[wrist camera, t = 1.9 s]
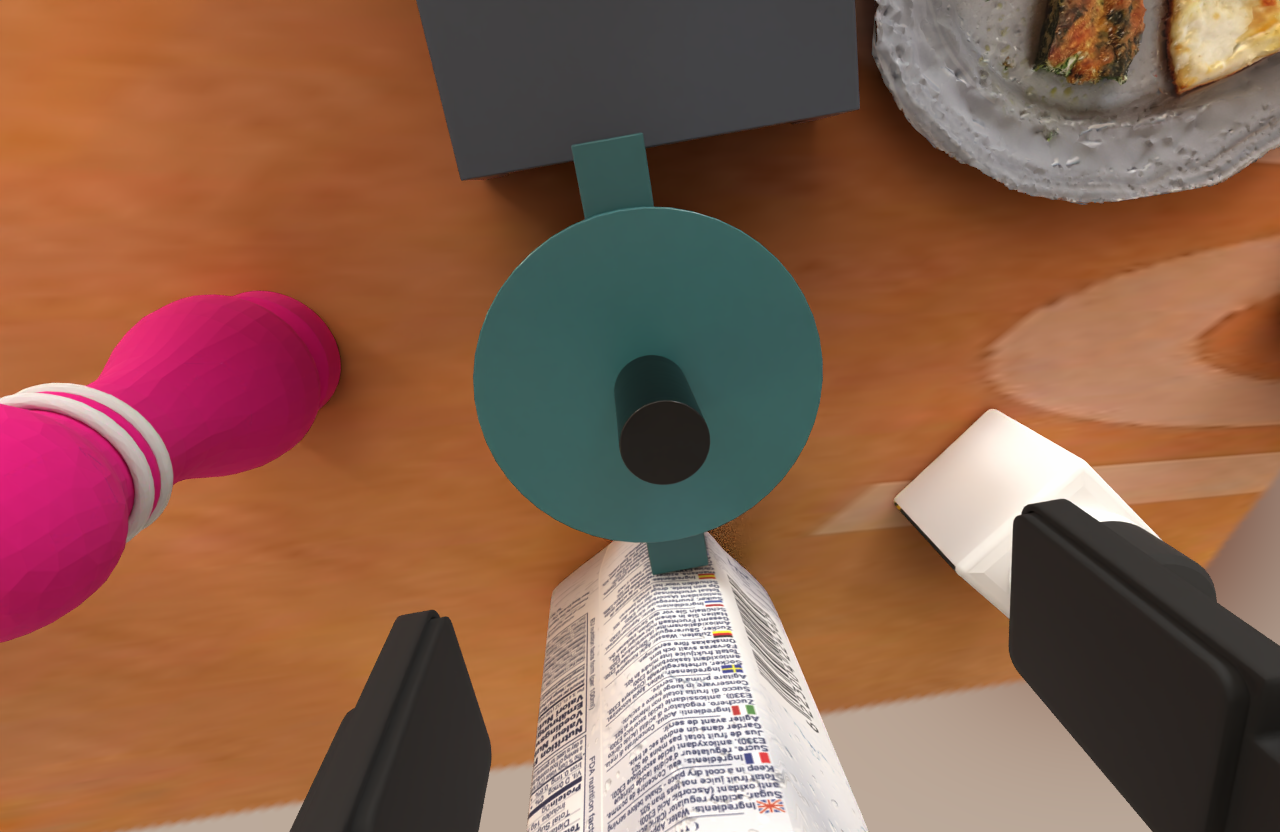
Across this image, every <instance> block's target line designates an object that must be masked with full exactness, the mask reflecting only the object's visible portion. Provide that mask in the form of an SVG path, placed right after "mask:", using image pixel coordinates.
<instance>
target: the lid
mask: <svg viewBox="0 0 1280 832" xmlns="http://www.w3.org/2000/svg"><path fill="white" fill-rule="evenodd" d="M822 381H823V363H822V352H821V345H820V338H819V334H818V331H817V327H816V324H815V320H814V317H813V314H812V312H811V310H810V307H809V305H808V303H807V301H806V298H805V296H804V294H803V293H802V291H801V290H800V288H799V286H798V285H797V283H796V282H795V280H794V278H793V277H792V275H791V274H790V273H789V272H788V271H787V270H786V268H785V267H784V266H783V265H782V264H781V262H780V261H779V260H778V259H777V258H776V257H775V256H774V255H773V254H772V253H770V252H769V251H768V250H767V249H766V248H765V247H764V246H763V245H761V244H760V243H759V242H758V241H756V240H755V239H753V238H752V237H750V236H749V235H747V234H746V233H744V232H743V231H741V230H739V229H737V228H735V227H733V226H731V225H729V224H727V223H725V222H723V221H721V220H719V219H716V218H713V217H709V216H706V215H703V214H700V213H697V212H694V211H688V210H682V209H677V208H671V207H645V206H644V207H635V208H626V209H618V210H614V211H610V212H606V213H602V214H598V215H595V216H592V217H590V218H587V219H585V220H582V221H580V222H577V223H575V224H573V225H571V226H569V227H567V228H566V229H564V230H562V231H560V232H559V233H557V234H555V235H553V236H552V237H550V238H549V239H548V240H546V241H545V242H544V243H542V244H541V245H540V246H539V247H537V248H536V249H535V250H533V251H532V252H531V253H530V254H529V255H528V256H527V257H526V258H525V259H524V260H523V261H522V262H521V263H520V264H519V265H518V266H517V267H516V268H515V270H514V271H513V272H512V273H511V275H510V276H509V278H508V279H507V280H506V282H505V283H504V284H503V286H502V287H501V288H500V290H499V292H498V293H497V295H496V297H495V299H494V301H493V303H492V304H491V306H490V308H489V310H488V312H487V315H486V318H485V320H484V323H483V326H482V328H481V331H480V335H479V339H478V343H477V348H476V352H475V361H474V373H473V383H474V400H475V405H476V410H477V415H478V420H479V423H480V426H481V429H482V432H483V435H484V438H485V440H486V443H487V445H488V447H489V449H490V451H491V453H492V455H493V457H494V459H495V461H496V462H497V463H498V465H499V466H500V468H501V469H502V471H503V472H504V474H505V475H506V477H507V478H508V479H509V480H510V481H511V483H512V484H513V485H514V486H515V487H516V488H517V489H518V490H519V491H520V493H521V494H522V495H523V496H525V497H526V498H527V499H528V500H529V501H530V502H532V503H533V504H534V505H535V506H536V507H537V508H539V509H540V510H542V511H543V512H545V513H546V514H548V515H549V516H551V517H552V518H554V519H555V520H557V521H559V522H561V523H563V524H565V525H567V526H569V527H571V528H573V529H576V530H579V531H581V532H584V533H587V534H590V535H593V536H596V537H601V538H605V539H610V540H614V541H623V542H632V543H656V542H665V541H673V540H679V539H683V538H687V537H691V536H695V535H699V534H701V533H704V532H707V531H709V530H712V529H715V528H717V527H719V526H721V525H723V524H725V523H727V522H729V521H731V520H733V519H735V518H737V517H738V516H740V515H741V514H743V513H744V512H746V511H747V510H749V509H751V508H752V507H753V506H755V505H756V504H757V503H758V502H759V501H761V500H762V499H763V498H764V497H765V496H767V495H768V494H769V493H770V492H771V491H772V490H773V489H774V488H775V487H776V485H777V484H778V483H779V482H780V481H781V480H782V479H783V478H784V477H785V475H786V474H787V473H788V471H789V470H790V468H791V467H792V466H793V464H794V463H795V462H796V460H797V458H798V456H799V455H800V453H801V451H802V449H803V448H804V446H805V444H806V442H807V440H808V437H809V435H810V432H811V430H812V427H813V425H814V422H815V418H816V415H817V411H818V407H819V403H820V397H821V389H822Z"/></svg>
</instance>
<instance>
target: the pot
mask: <svg viewBox="0 0 1280 832" xmlns="http://www.w3.org/2000/svg"><path fill="white" fill-rule="evenodd" d="M571 149H572V154H573V159H574V165H575V170H576V175H577V180H578V186H579V191H580V196H581V201H582V207H583V212H584V217H585V219H587V218H590V217H592V216H595V215H598V214H602V213H606V212H610V211H614V210H618V209H626V208H635V207H644V206H645V207H654V202H653V195H652V189H651V182H650V176H649V169H648V163H647V156H646V150H645V143H644V137H643V133H637V134H631V135H625V136H620V137H614V138H609V139H603V140H598V141H592V142H586V143H581V144H575V145H572V146H571ZM646 544H647V550H648V555H649V560H650V565H651V571H652V574H653V575H657V574H663V573H668V572H674V571H679V570H685V569H690V568H696V567H701V566H707V565H708V564H709V562H708V555H707V548H706V542H705V535H704V533H701V534H699V535H695V536H691V537H687V538H683V539H679V540H673V541H665V542H656V543H646Z"/></svg>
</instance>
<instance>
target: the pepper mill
mask: <svg viewBox="0 0 1280 832" xmlns="http://www.w3.org/2000/svg"><path fill="white" fill-rule="evenodd" d="M340 371H341V363H340V355H339V350H338V347H337V344H336V341H335V339H334V337H333V335H332V333H331V332H330V330H329V329H328V327H327V326H326V324H325V323H324V322H323V321H322V320H321V318H320V317H319V316H318V315H317V314H316V313H315V312H313V311H312V310H311V309H310V308H308V307H307V306H305V305H304V304H302V303H301V302H299V301H297V300H295V299H293V298H291V297H288V296H286V295H282V294H279V293H275V292H269V291H250V292H244V293H241V294H238V295H235V296H224V295H198V296H192V297H187V298H183V299H180V300H177V301H175V302H172V303H170V304H168V305H166V306H164V307H162V308H160V309H158V310H156V311H154V312H153V313H151V314H149V315H147V316H145V317H143V318H142V319H141V320H140V321H139V322H138V323H137V324H136V325H135V326H134V327H133V328H132V329H130V330H129V331H128V332H127V333H126V334H125V336H124V337H123V338H122V339H121V341H120V342H119V343H118V345H117V346H116V347H115V348H114V350H113V352H112V354H111V356H110V358H109V360H108V361H107V363H106V365H105V367H104V369H103V371H102V373H101V375H100V376H99V378H98V379H97V380H96V381H94V382H92V383H90V384H88V385H86V386H84V385H77V384H70V383H48V384H41V385H36V386H33V387H29V388H26V389H23V390H21V391H20V392H18V393H16V394H14V395H9V396H5V397H3V398H0V643H1V642H5V641H9V640H12V639H15V638H18V637H20V636H23V635H26V634H29V633H31V632H33V631H35V630H37V629H40V628H42V627H44V626H46V625H48V624H50V623H52V622H54V621H56V620H57V619H59V618H60V617H62V616H64V615H65V614H67V613H68V612H70V611H71V610H73V609H74V608H76V607H78V606H79V605H80V604H81V603H82V602H84V601H85V600H86V599H87V598H88V597H89V596H91V595H92V594H93V593H94V592H95V591H96V590H97V589H98V588H99V587H100V586H101V585H102V584H103V583H104V582H105V581H106V580H107V578H108V577H109V575H110V574H111V572H112V571H113V569H114V568H115V566H116V565H117V563H118V561H119V559H120V557H121V555H122V552H123V550H124V548H125V544H126V543H127V542H128V541H130V540H131V539H132V538H133V537H134V536H136V535H137V534H138V533H139V532H140V531H141V530H143V529H144V528H146V527H148V526H149V525H151V524H152V523H153V522H154V521H155V520H156V519H157V518H158V517H159V516H160V515H161V514H162V512H163V510H164V509H165V507H166V506H167V504H168V501H169V499H170V496H171V492H172V487H173V485H174V484H175V483H177V482H179V481H182V480H185V479H193V478H206V477H219V476H226V475H232V474H237V473H240V472H244V471H247V470H251V469H254V468H257V467H260V466H263V465H265V464H267V463H269V462H271V461H272V460H274V459H276V458H278V457H279V456H281V455H282V454H284V453H285V452H287V451H289V450H290V449H292V448H293V447H294V446H295V445H296V444H297V443H298V442H300V441H301V440H302V438H303V437H304V436H305V434H306V433H307V432H308V431H309V429H310V427H311V426H312V424H313V422H314V420H315V417H316V415H317V412H318V410H319V409H320V408H321V407H323V406H324V405H325V404H326V403H327V402H328V401H329V399H330V398H331V396H332V395H333V393H334V391H335V389H336V387H337V385H338V383H339V378H340Z"/></svg>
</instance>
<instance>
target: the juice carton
mask: <svg viewBox="0 0 1280 832" xmlns="http://www.w3.org/2000/svg"><path fill="white" fill-rule="evenodd" d="M704 535H705V542H706V548H707V555H708V562H709V564H708V565H707V566H701V567H696V568H690V569H685V570H679V571H674V572H668V573H663V574H657V575H653V574H652V571H651V565H650V560H649V555H648V550H647V544H646V543H632V542H623V541H613V542H611V543H610V544H609V545H608V546H607V547H605V548H604V549H603V550H602V551H600V552H599V553H598V554H596V555H595V556H594V557H592V558H591V559H590V560H588V561H587V562H586V563H584V564H583V565H582V566H580V567H579V568H578V569H577V570H575V571H574V572H573V573H571V574H570V575H569V576H568V577H567V578H566V579H564V580H563V581H562V582H561V583H560V584H559V585H558V586H557V587H556V588H555V589H554V590H553V593H552V597H551V604H550V614H549V623H548V632H547V642H546V651H545V661H544V670H543V680H542V689H541V698H540V708H539V717H538V727H537V736H536V746H535V755H534V765H533V775H532V783H531V793H530V802H529V812H528V822H527V831H526V832H869V831H868V828H867V826H866V824H865V821H864V819H863V816H862V814H861V812H860V809H859V807H858V804H857V802H856V800H855V797H854V795H853V793H852V790H851V788H850V785H849V783H848V781H847V778H846V776H845V773H844V771H843V769H842V766H841V764H840V762H839V759H838V757H837V754H836V752H835V749H834V747H833V745H832V742H831V740H830V738H829V735H828V733H827V730H826V728H825V726H824V723H823V721H822V718H821V716H820V714H819V711H818V709H817V706H816V704H815V702H814V699H813V697H812V694H811V692H810V690H809V687H808V685H807V682H806V680H805V678H804V675H803V673H802V670H801V668H800V666H799V663H798V661H797V659H796V656H795V654H794V651H793V649H792V647H791V644H790V642H789V639H788V637H787V635H786V632H785V630H784V628H783V625H782V623H781V621H780V618H779V616H778V614H777V611H776V609H775V607H774V605H773V603H772V601H771V599H770V597H769V595H768V593H767V591H766V590H765V589H764V587H763V586H762V585H761V584H760V583H759V582H758V581H757V580H756V579H755V578H754V577H753V576H752V575H751V574H750V573H749V572H748V571H747V570H746V569H745V568H743V567H742V566H741V565H740V564H739V563H738V562H737V561H736V560H735V559H734V558H732V557H731V556H730V555H729V554H728V553H727V552H726V551H724V549H723V548H722V547H721V546H720V545H719V544H718V543H717V541H716V540H715V539H714V538H713V537H712V536H711V535H710V534H709V533H708V532H704Z"/></svg>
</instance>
